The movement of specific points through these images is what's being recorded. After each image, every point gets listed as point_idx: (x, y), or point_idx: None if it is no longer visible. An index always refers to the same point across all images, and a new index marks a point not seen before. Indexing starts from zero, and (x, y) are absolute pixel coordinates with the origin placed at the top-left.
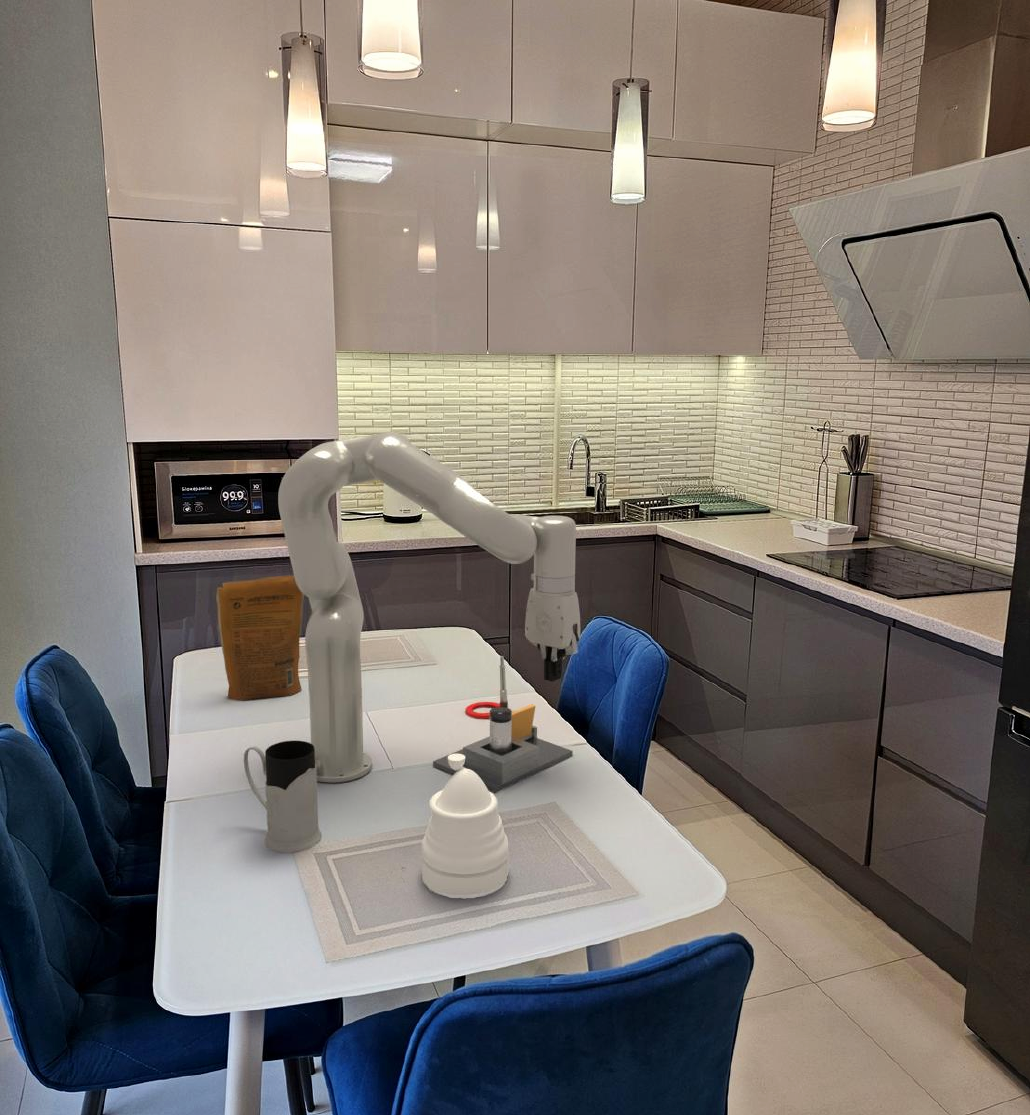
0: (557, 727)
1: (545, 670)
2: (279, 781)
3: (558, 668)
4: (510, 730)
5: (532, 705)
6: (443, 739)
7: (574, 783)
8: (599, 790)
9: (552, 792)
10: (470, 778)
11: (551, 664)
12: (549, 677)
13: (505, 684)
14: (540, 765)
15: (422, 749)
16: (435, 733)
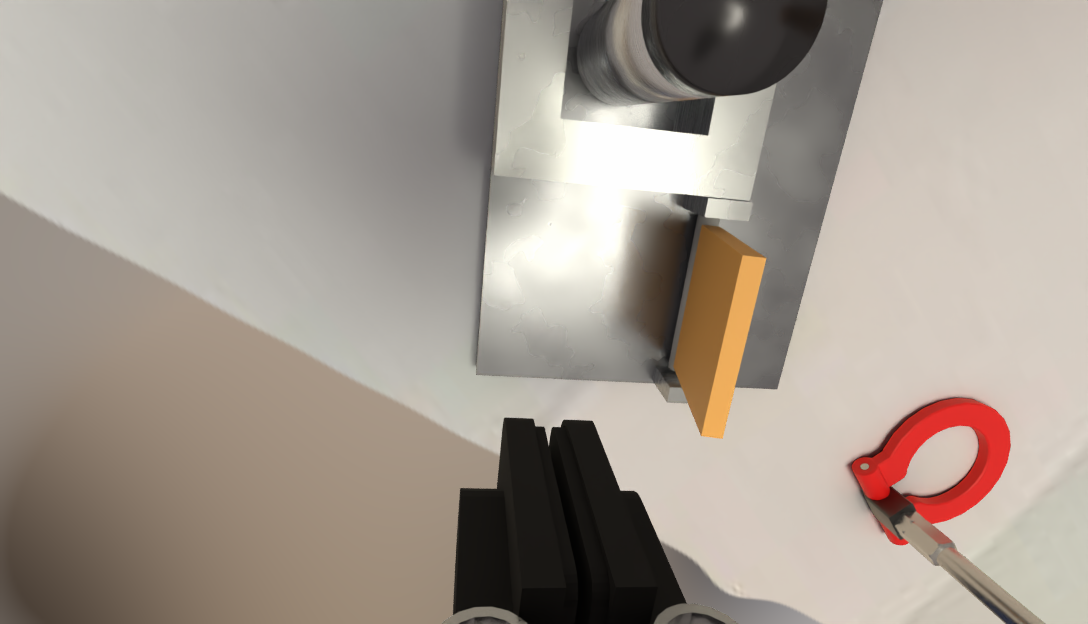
0: (657, 514)
1: (595, 479)
2: None
3: (455, 580)
4: (623, 40)
5: (715, 428)
6: (969, 175)
7: (311, 167)
8: (190, 177)
9: (322, 30)
10: None
11: (515, 561)
12: (524, 436)
13: (957, 578)
14: (494, 182)
15: (1005, 37)
16: (1020, 201)
